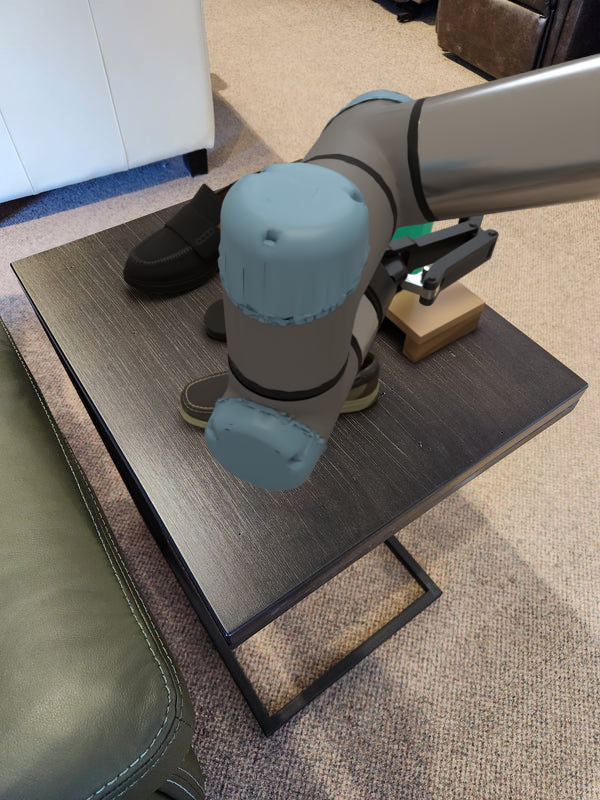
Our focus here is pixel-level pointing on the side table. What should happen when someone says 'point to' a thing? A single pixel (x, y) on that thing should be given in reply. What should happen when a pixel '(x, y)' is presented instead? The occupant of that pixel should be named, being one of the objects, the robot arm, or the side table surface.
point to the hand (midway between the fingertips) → (407, 176)
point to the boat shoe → (210, 388)
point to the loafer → (180, 247)
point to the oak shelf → (435, 318)
